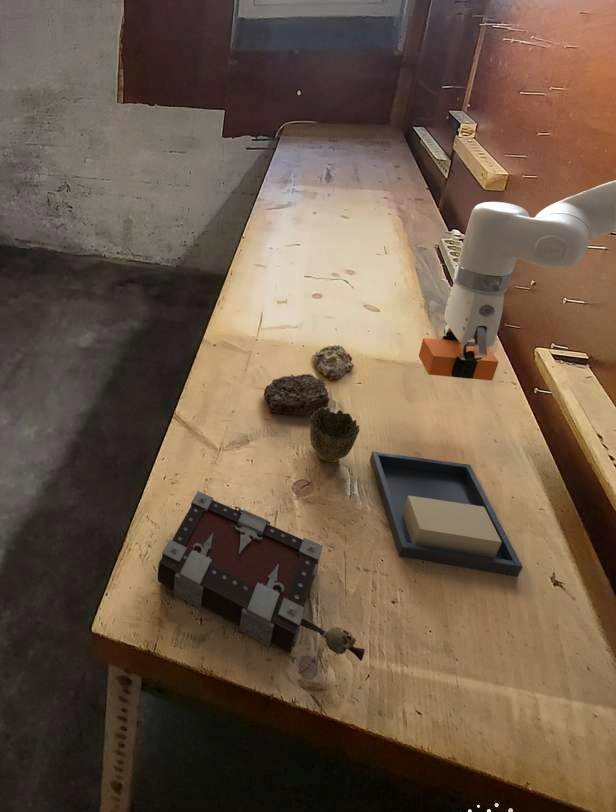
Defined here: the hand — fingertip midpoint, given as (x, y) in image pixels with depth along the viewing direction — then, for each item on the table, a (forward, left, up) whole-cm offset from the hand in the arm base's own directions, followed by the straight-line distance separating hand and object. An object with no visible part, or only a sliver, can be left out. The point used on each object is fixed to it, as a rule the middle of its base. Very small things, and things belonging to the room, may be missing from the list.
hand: (454, 365), depth 101 cm
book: (+34, +44, -11) cm, 57 cm away
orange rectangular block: (0, 0, -1) cm, 1 cm away
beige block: (+8, +30, -10) cm, 33 cm away
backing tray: (+8, +26, -11) cm, 29 cm away
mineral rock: (+17, -11, -11) cm, 23 cm away
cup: (+22, +17, -11) cm, 30 cm away
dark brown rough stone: (+26, +3, -11) cm, 29 cm away
